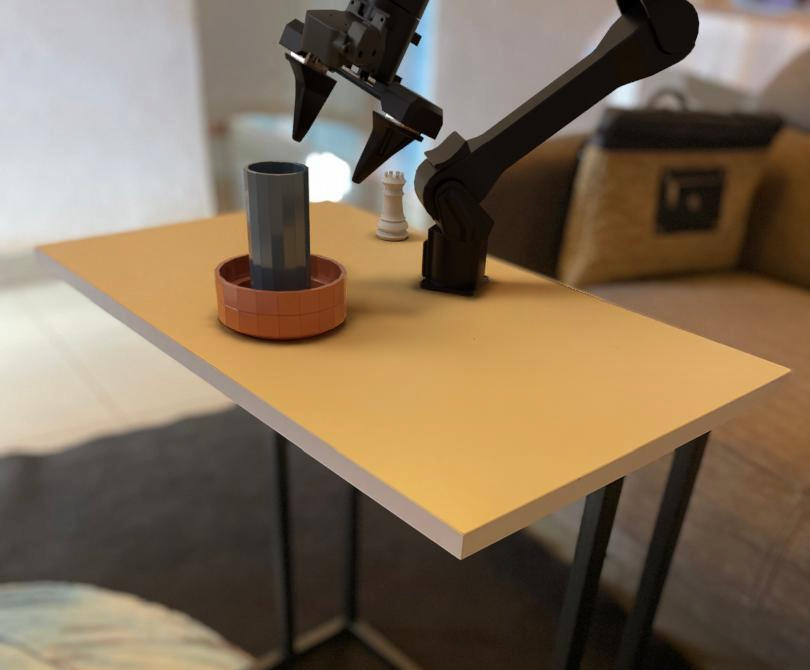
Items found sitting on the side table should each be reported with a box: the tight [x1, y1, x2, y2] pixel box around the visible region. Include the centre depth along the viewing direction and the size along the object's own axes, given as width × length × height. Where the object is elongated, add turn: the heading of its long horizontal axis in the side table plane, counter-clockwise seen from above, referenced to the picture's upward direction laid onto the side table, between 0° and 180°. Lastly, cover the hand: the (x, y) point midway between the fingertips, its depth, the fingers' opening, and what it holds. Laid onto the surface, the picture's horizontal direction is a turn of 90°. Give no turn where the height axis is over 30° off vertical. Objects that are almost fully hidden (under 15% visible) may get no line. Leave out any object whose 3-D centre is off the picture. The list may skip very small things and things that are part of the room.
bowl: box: [213, 252, 348, 341], centre depth 85 cm, size 13×13×5 cm
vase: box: [242, 160, 312, 292], centre depth 82 cm, size 6×6×14 cm
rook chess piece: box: [375, 170, 410, 242], centre depth 110 cm, size 4×4×8 cm
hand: (325, 161), depth 87 cm, fingers open, 9 cm apart
